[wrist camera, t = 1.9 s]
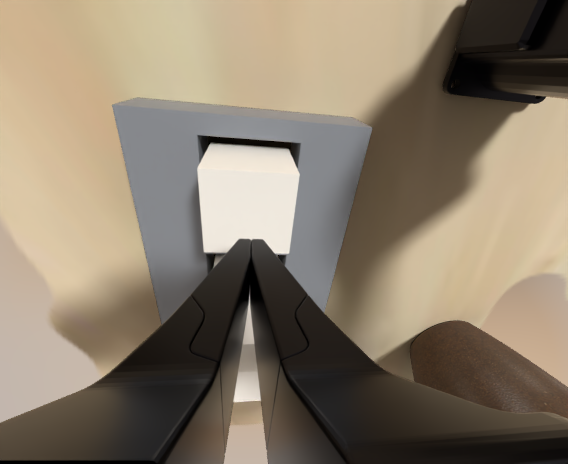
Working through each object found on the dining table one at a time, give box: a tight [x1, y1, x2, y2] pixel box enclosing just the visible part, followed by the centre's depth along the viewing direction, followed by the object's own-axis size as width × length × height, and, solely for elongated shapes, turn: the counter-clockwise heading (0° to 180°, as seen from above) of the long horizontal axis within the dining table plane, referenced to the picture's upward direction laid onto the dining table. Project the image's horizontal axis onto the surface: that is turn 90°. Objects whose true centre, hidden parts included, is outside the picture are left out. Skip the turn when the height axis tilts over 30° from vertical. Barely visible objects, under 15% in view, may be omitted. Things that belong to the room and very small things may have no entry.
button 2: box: [197, 143, 300, 254], centre depth 13 cm, size 4×4×4 cm
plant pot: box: [410, 321, 568, 419], centre depth 23 cm, size 15×15×16 cm
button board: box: [112, 98, 372, 324], centre depth 19 cm, size 12×21×3 cm, turn 174°
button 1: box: [233, 344, 261, 402], centre depth 20 cm, size 4×4×4 cm
